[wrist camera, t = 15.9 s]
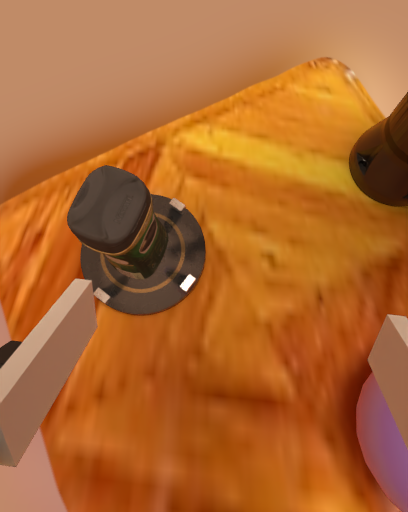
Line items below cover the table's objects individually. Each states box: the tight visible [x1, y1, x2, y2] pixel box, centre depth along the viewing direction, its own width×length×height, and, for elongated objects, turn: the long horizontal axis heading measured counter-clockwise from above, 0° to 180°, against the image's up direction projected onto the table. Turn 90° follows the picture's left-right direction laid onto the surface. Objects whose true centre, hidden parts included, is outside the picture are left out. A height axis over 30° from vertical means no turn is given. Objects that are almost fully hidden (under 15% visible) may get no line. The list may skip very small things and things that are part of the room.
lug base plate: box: [81, 194, 205, 315], centre depth 52 cm, size 20×20×3 cm
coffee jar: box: [67, 165, 168, 279], centre depth 43 cm, size 10×8×19 cm
